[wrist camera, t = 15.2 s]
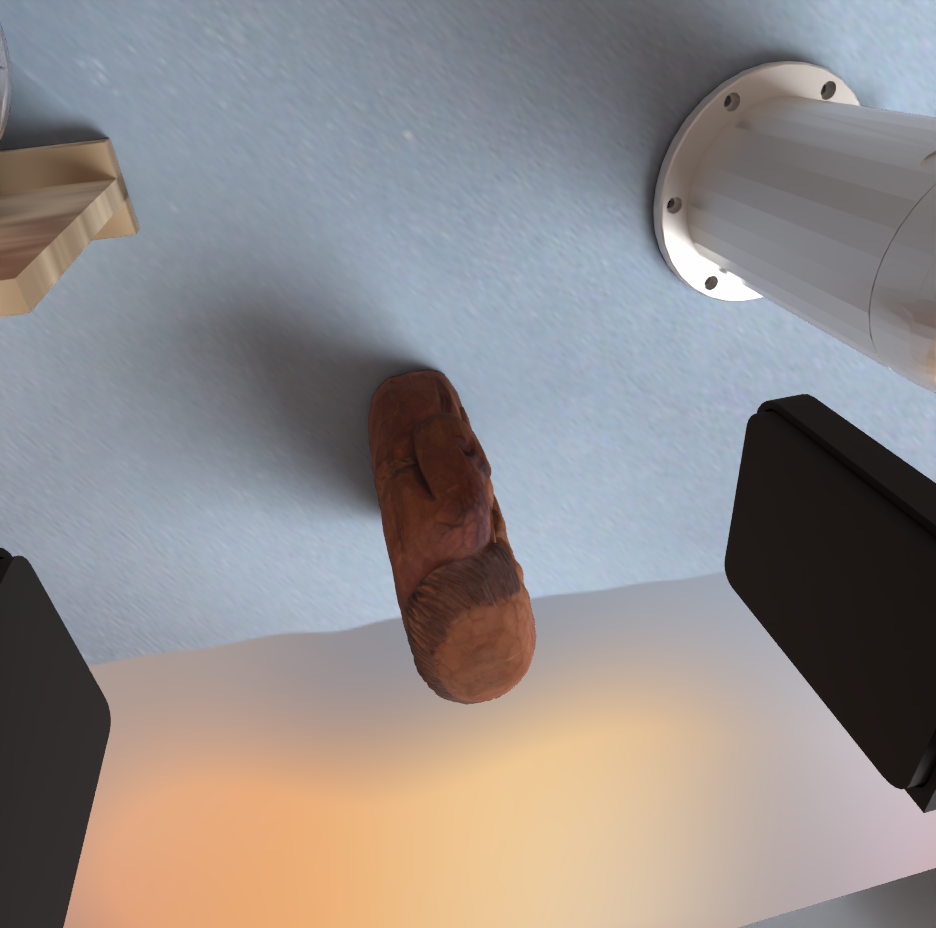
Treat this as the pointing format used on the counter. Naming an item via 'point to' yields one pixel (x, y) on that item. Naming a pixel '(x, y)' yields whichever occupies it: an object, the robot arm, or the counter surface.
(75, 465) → the counter surface
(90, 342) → the counter surface
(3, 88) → the cup bracket
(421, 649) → the wooden figurine
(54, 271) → the wooden panel
